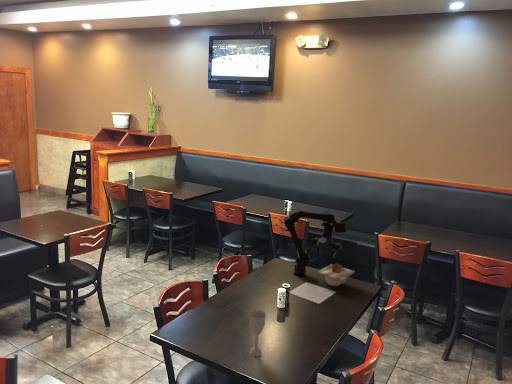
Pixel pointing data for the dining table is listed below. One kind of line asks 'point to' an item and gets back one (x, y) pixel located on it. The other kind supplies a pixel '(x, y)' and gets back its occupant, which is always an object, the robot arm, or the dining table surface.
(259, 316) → the chalice
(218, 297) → the dining table surface
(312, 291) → the mat
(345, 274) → the lid
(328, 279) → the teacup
